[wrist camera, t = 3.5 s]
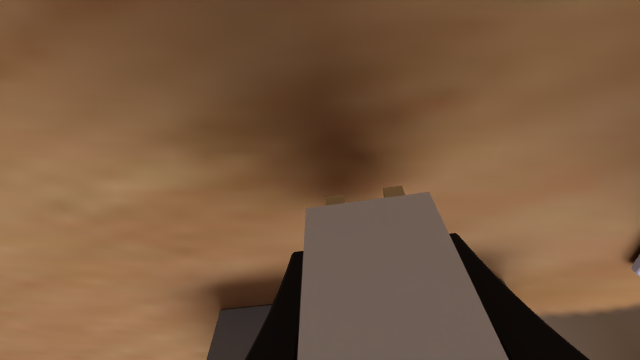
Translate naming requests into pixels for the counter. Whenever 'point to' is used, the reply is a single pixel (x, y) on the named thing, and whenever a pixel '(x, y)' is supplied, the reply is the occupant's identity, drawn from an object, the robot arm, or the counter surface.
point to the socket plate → (237, 332)
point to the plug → (388, 285)
